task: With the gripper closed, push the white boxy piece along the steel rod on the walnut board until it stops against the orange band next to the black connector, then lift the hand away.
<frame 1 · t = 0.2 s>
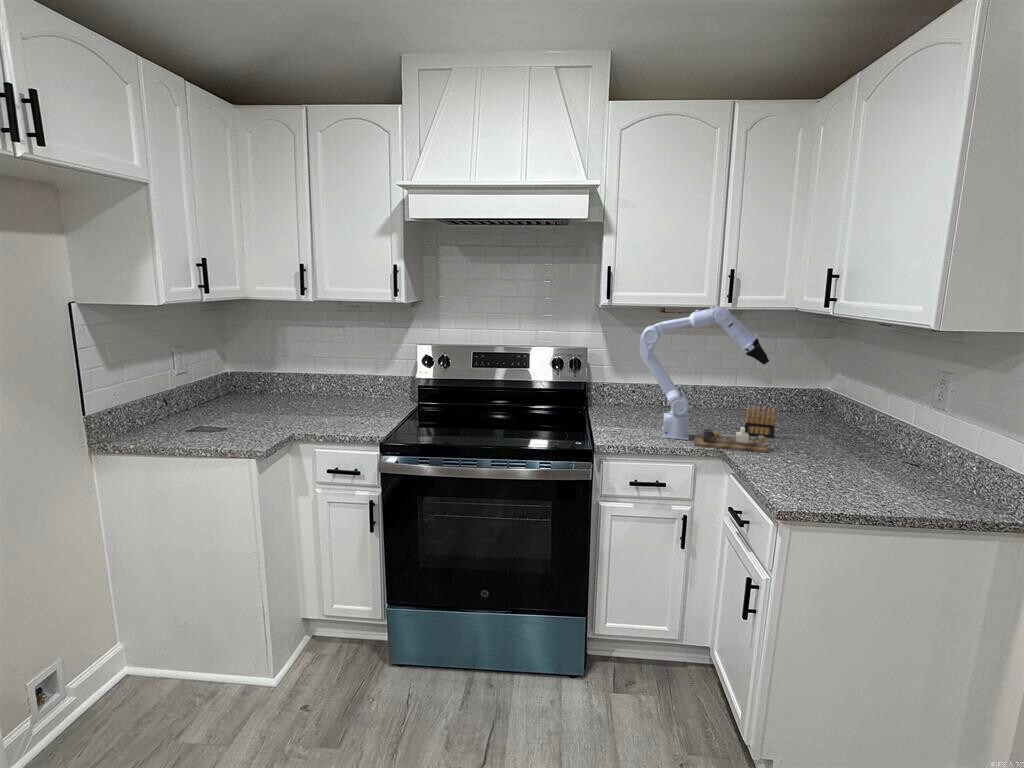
hand: (765, 360, 197), 31 cm above the worktop, tool tilted 45°, fingers open, 7 cm apart
white boxy piece: (742, 434, 198), point 5 cm above the worktop, slide at 0.0 cm
ammunition clip: (758, 436, 213), on the worktop
rail board: (729, 445, 200), on the worktop
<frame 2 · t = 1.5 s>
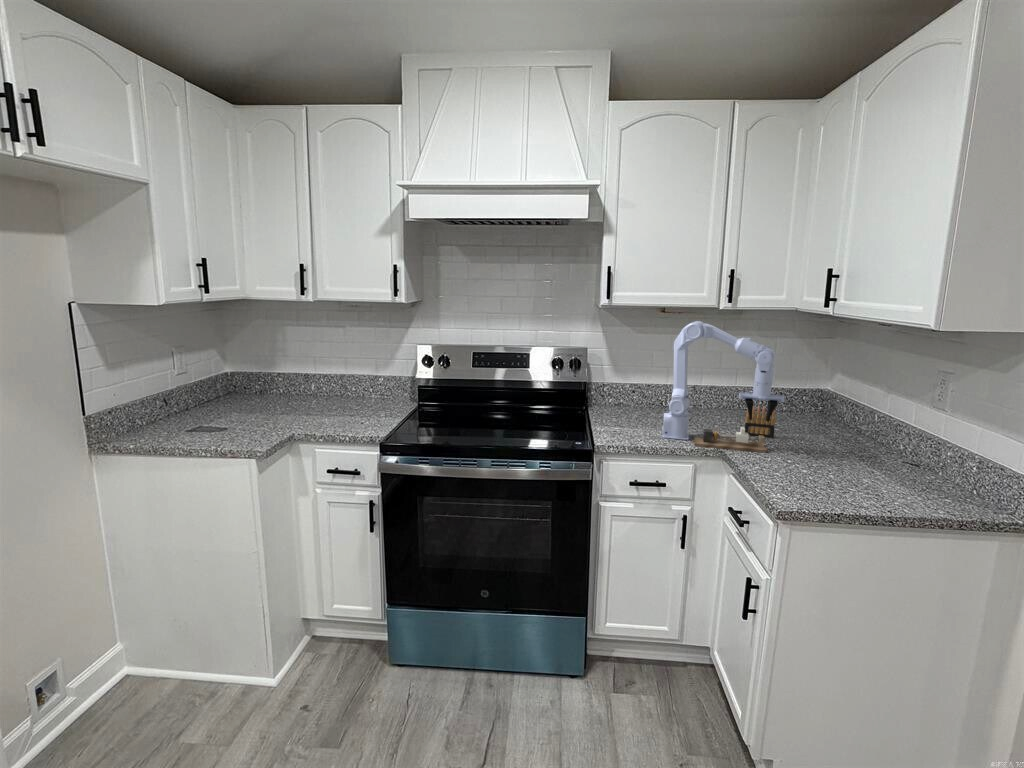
hand: (758, 420, 196), 10 cm above the worktop, tool pointing down, fingers open, 5 cm apart
nothing on the worktop moved.
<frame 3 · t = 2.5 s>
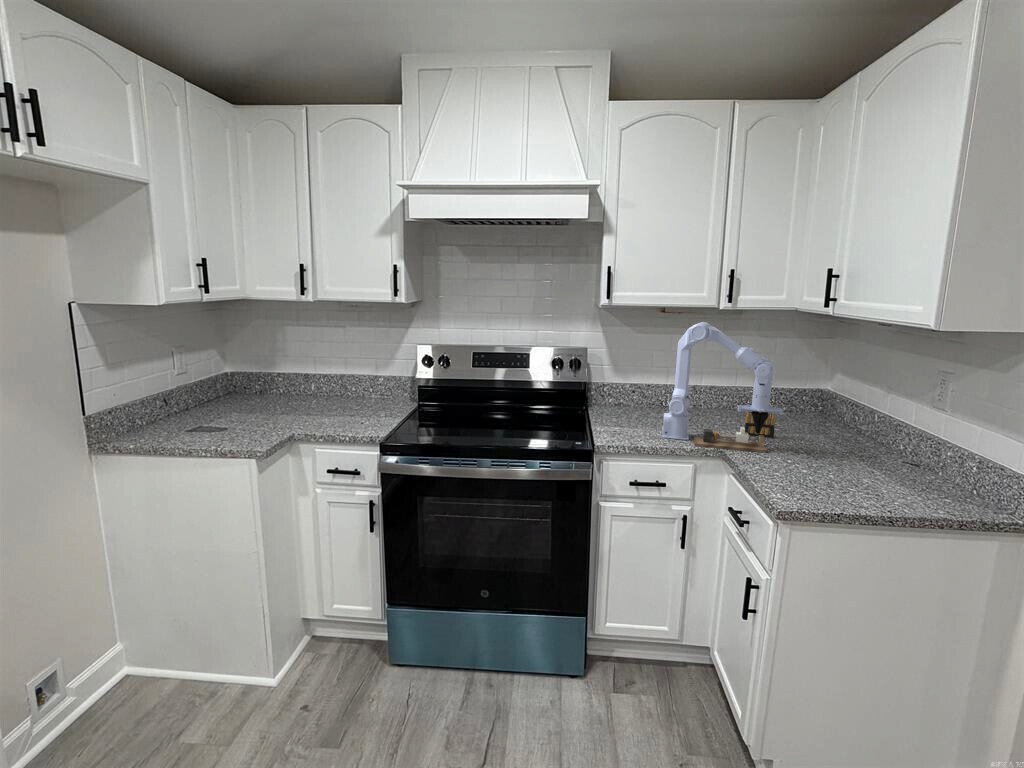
hand: (757, 432, 197), 6 cm above the worktop, tool pointing down, fingers closed
nothing on the worktop moved.
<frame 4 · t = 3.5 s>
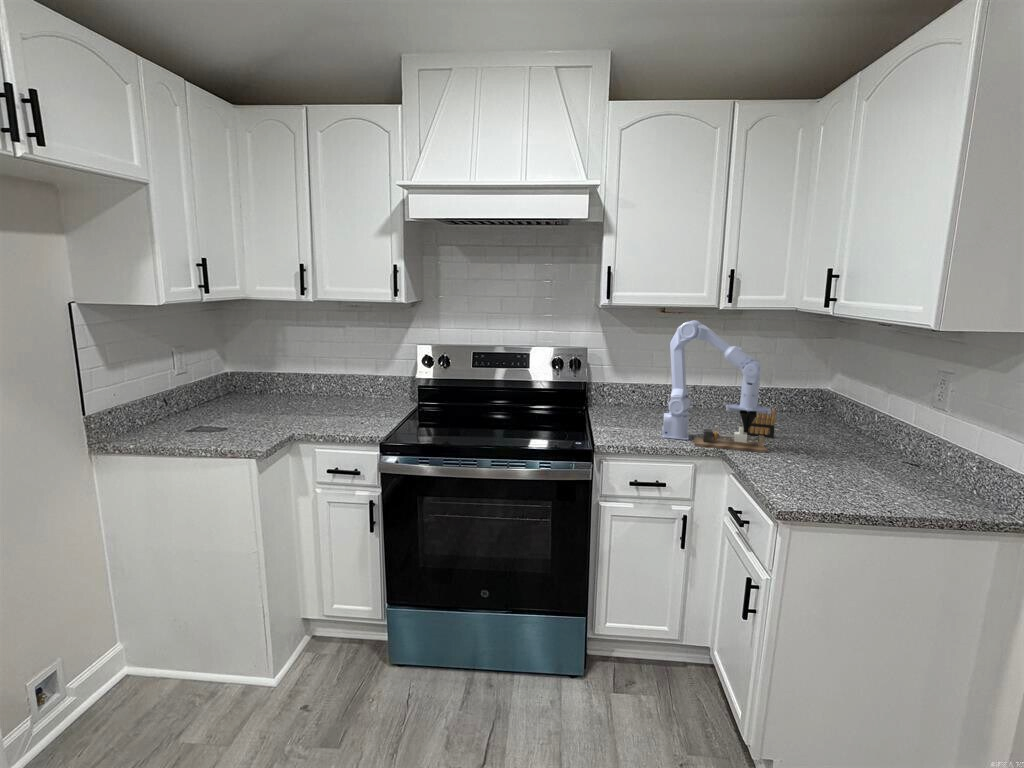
hand: (745, 431, 198), 6 cm above the worktop, tool pointing down, fingers closed
white boxy piece: (740, 434, 198), point 5 cm above the worktop, slide at 0.5 cm, touching gripper
everything else where it was.
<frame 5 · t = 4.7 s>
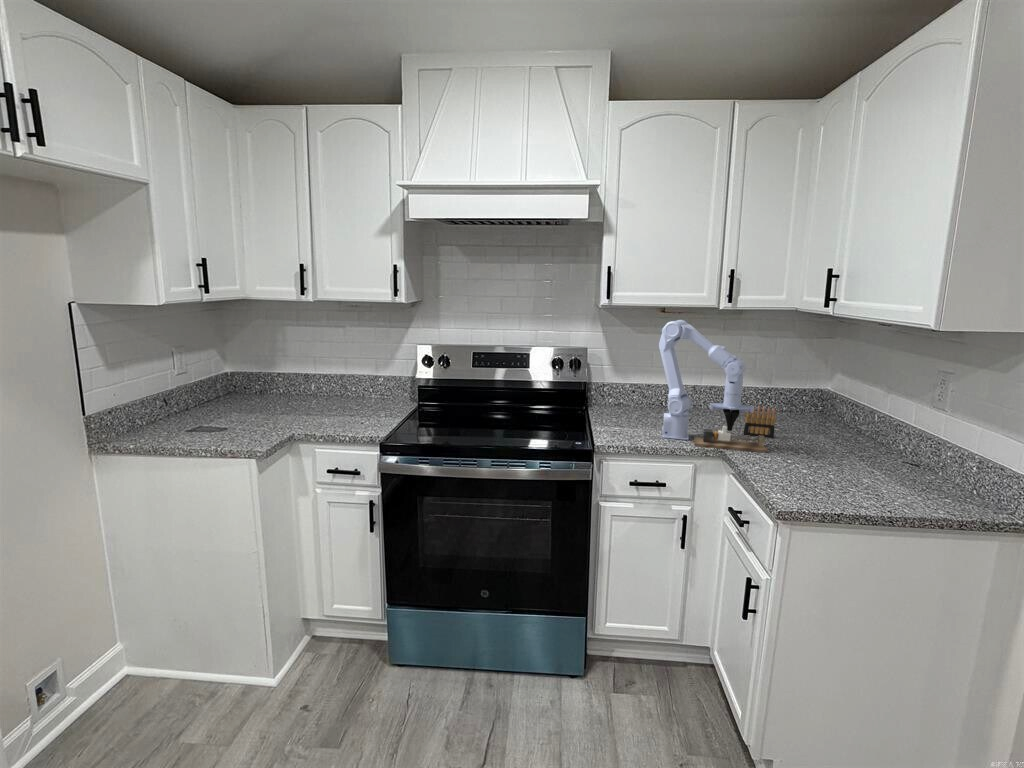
hand: (729, 430, 199), 6 cm above the worktop, tool pointing down, fingers closed
white boxy piece: (724, 432, 200), point 5 cm above the worktop, slide at 6.0 cm, touching gripper
everything else where it was.
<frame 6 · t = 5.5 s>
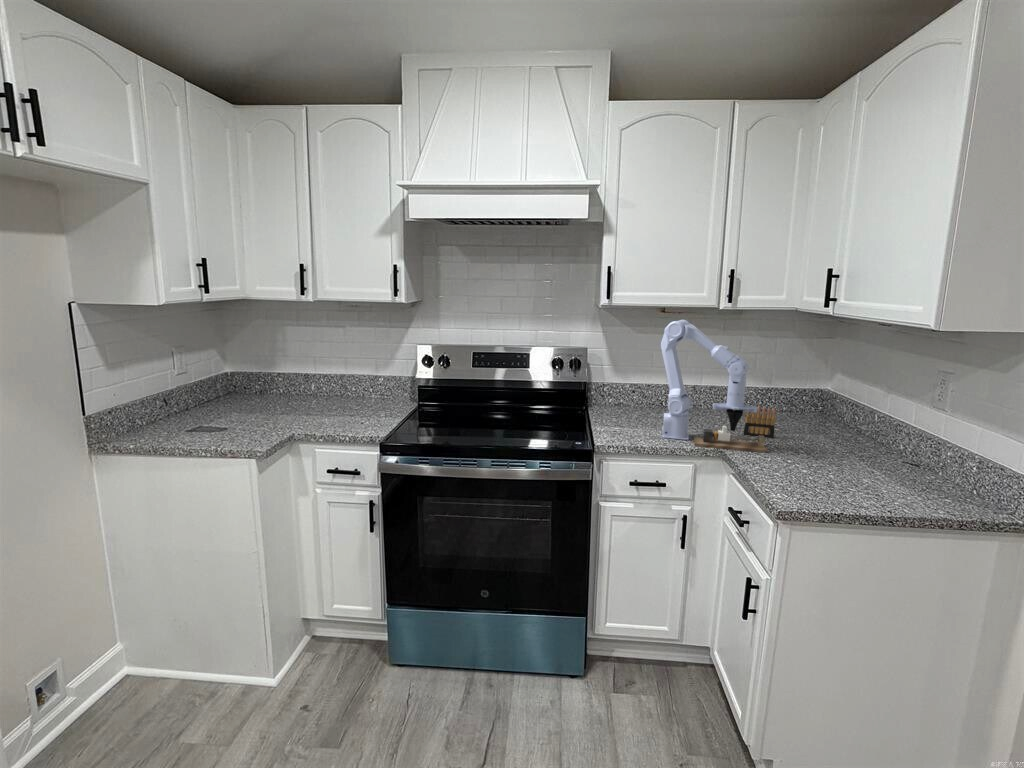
hand: (732, 430, 199), 6 cm above the worktop, tool pointing down, fingers closed
white boxy piece: (724, 432, 200), point 5 cm above the worktop, slide at 6.1 cm
everything else where it was.
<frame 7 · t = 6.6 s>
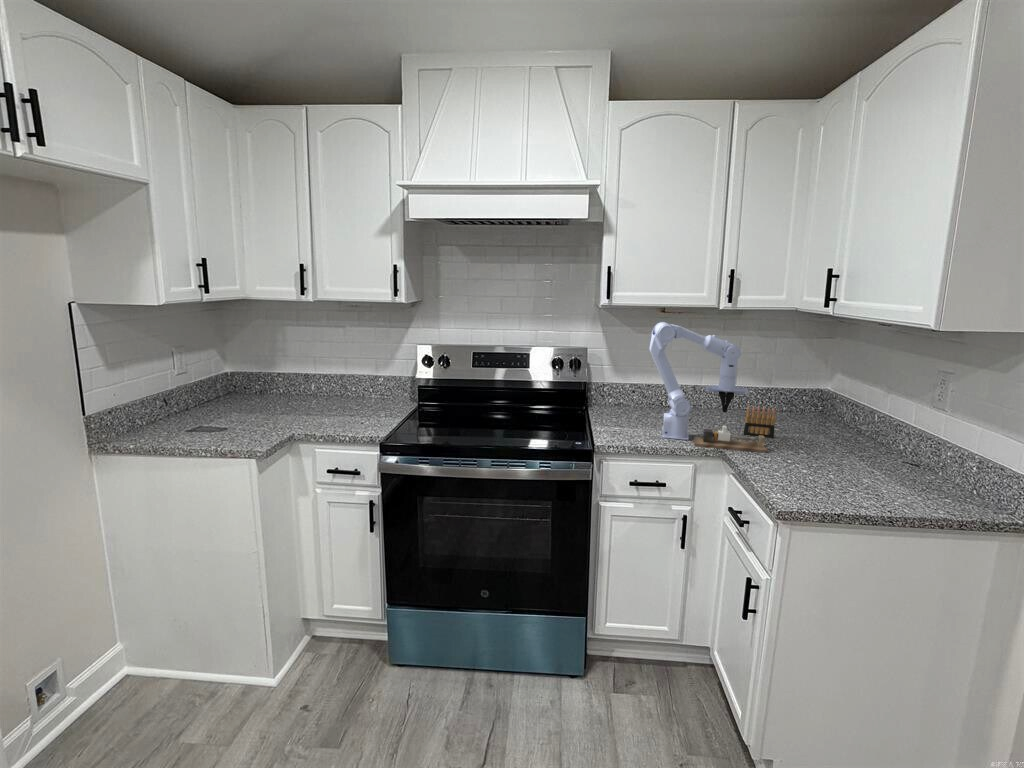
hand: (724, 411, 208), 10 cm above the worktop, tool pointing down, fingers closed
nothing on the worktop moved.
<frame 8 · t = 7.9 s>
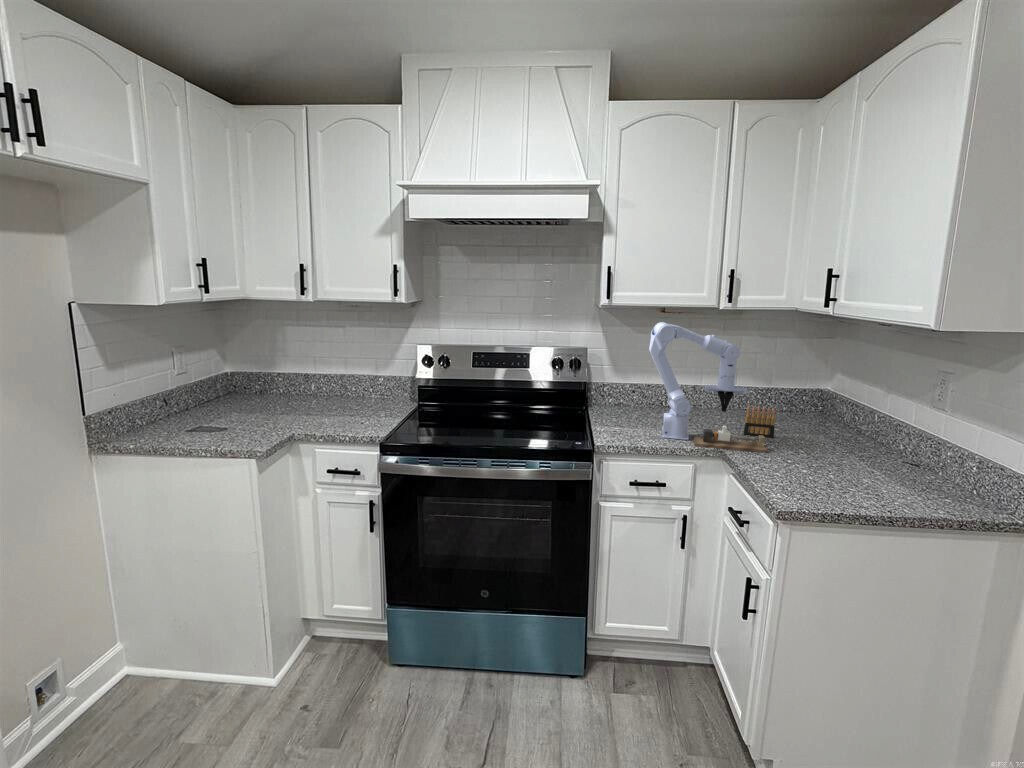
hand: (723, 411, 208), 10 cm above the worktop, tool pointing down, fingers closed
nothing on the worktop moved.
at the end: white boxy piece slide at 6.1 cm; ammunition clip moved 0.3 cm from its start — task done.
